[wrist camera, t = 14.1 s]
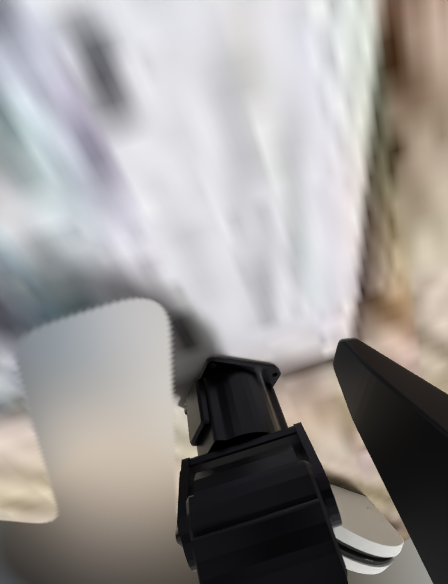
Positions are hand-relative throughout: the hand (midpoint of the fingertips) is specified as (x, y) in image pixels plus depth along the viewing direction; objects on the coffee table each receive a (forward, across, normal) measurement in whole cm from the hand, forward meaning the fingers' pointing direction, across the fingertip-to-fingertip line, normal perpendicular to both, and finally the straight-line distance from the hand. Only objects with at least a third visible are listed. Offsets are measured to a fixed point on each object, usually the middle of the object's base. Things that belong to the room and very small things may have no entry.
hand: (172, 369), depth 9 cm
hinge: (+13, -17, +38) cm, 44 cm away
